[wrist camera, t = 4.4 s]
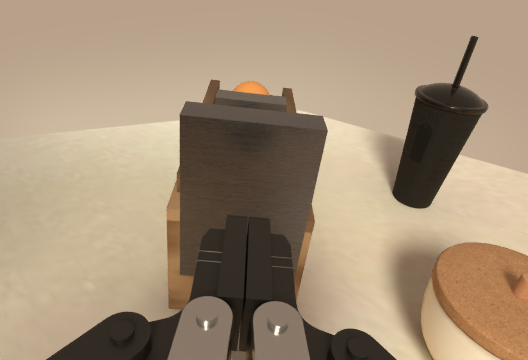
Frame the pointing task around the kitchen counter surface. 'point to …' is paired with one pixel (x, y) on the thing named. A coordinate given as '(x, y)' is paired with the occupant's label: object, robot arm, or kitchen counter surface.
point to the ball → (251, 88)
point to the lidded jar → (477, 304)
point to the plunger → (246, 168)
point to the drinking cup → (436, 136)
